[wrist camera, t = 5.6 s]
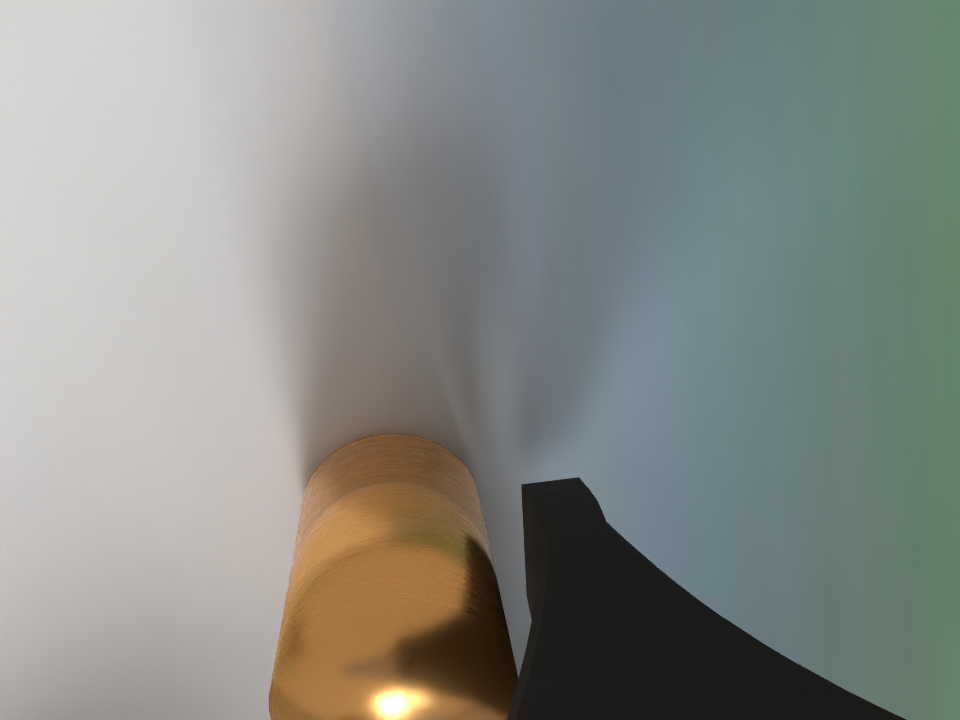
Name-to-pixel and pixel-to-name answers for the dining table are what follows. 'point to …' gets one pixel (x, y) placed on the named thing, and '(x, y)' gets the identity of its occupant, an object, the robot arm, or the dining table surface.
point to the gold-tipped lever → (392, 593)
